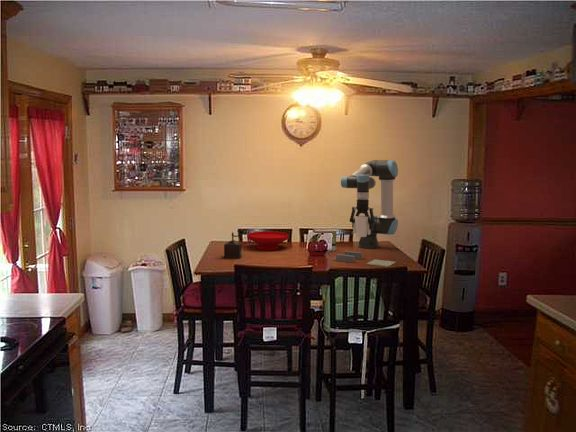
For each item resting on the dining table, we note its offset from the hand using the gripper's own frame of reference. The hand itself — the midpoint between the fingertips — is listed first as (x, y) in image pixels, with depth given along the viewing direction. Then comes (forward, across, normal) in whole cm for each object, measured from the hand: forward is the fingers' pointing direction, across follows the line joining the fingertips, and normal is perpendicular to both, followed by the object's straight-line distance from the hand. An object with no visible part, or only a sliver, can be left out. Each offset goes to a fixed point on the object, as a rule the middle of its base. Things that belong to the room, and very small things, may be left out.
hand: (361, 233), depth 335 cm
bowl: (+18, -76, +5) cm, 79 cm away
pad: (+18, +14, +1) cm, 22 cm away
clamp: (+18, -8, 0) cm, 20 cm away
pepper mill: (+18, -76, -35) cm, 86 cm away
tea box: (+18, -39, +21) cm, 48 cm away
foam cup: (+2, 0, 0) cm, 2 cm away
